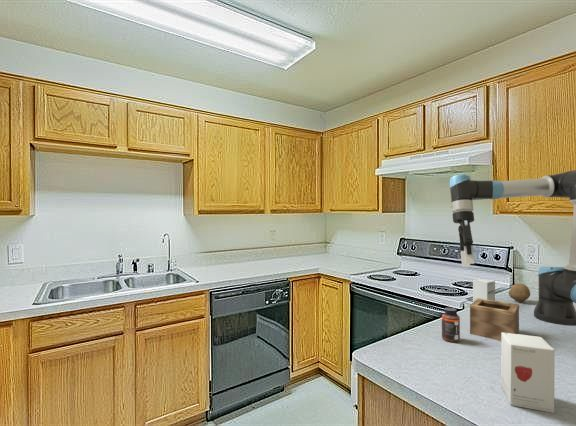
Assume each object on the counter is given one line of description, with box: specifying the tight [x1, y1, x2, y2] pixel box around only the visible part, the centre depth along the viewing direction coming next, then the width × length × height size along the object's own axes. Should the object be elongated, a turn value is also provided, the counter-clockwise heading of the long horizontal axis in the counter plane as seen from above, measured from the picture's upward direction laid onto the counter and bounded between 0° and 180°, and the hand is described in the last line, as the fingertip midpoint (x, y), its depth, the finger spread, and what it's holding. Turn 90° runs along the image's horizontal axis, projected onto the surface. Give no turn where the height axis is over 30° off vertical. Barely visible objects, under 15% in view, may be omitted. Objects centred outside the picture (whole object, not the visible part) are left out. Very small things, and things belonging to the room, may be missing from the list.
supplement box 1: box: [472, 278, 496, 303], centre depth 163 cm, size 7×7×13 cm
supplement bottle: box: [441, 307, 461, 343], centre depth 119 cm, size 6×6×11 cm
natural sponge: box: [508, 282, 531, 303], centre depth 168 cm, size 9×9×10 cm
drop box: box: [469, 298, 520, 342], centre depth 125 cm, size 14×14×11 cm
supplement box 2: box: [500, 332, 556, 414], centre depth 80 cm, size 9×9×15 cm
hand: (467, 265), depth 125 cm, fingers open, 13 cm apart
